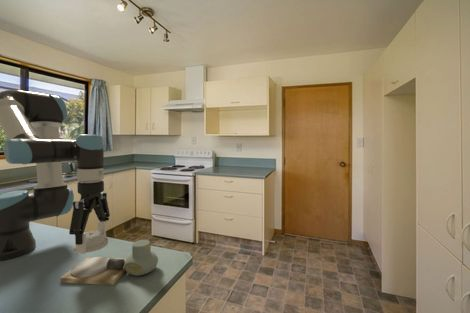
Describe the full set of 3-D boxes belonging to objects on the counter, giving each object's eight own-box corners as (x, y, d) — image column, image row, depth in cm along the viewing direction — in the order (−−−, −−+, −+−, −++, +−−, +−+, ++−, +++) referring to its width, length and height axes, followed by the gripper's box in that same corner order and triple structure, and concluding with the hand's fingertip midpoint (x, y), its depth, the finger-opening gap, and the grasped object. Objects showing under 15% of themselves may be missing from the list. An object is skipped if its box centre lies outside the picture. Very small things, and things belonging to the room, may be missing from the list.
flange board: (60, 282, 72) (59, 268, 72) (87, 260, 85) (87, 248, 85) (113, 285, 72) (113, 270, 72) (132, 262, 85) (132, 250, 84)
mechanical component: (65, 251, 74) (92, 255, 72) (65, 238, 74) (92, 241, 72) (90, 239, 84) (114, 241, 82) (90, 227, 83) (114, 229, 82)
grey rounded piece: (119, 274, 77) (119, 246, 77) (135, 262, 86) (135, 236, 85) (148, 280, 75) (148, 250, 74) (161, 266, 83) (162, 240, 82)
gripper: (77, 188, 65) (79, 263, 67) (119, 176, 87) (120, 232, 89) (52, 187, 65) (54, 262, 67) (100, 175, 88) (101, 232, 89)
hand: (92, 245), depth 78 cm, fingers closed on mechanical component, 10 cm apart
